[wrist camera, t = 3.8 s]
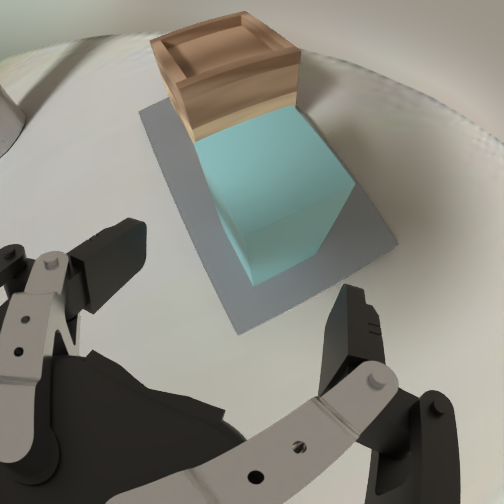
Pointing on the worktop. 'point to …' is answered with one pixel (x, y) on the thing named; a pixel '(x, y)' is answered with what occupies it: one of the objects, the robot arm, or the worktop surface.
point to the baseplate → (222, 252)
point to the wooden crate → (226, 72)
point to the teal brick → (273, 189)
